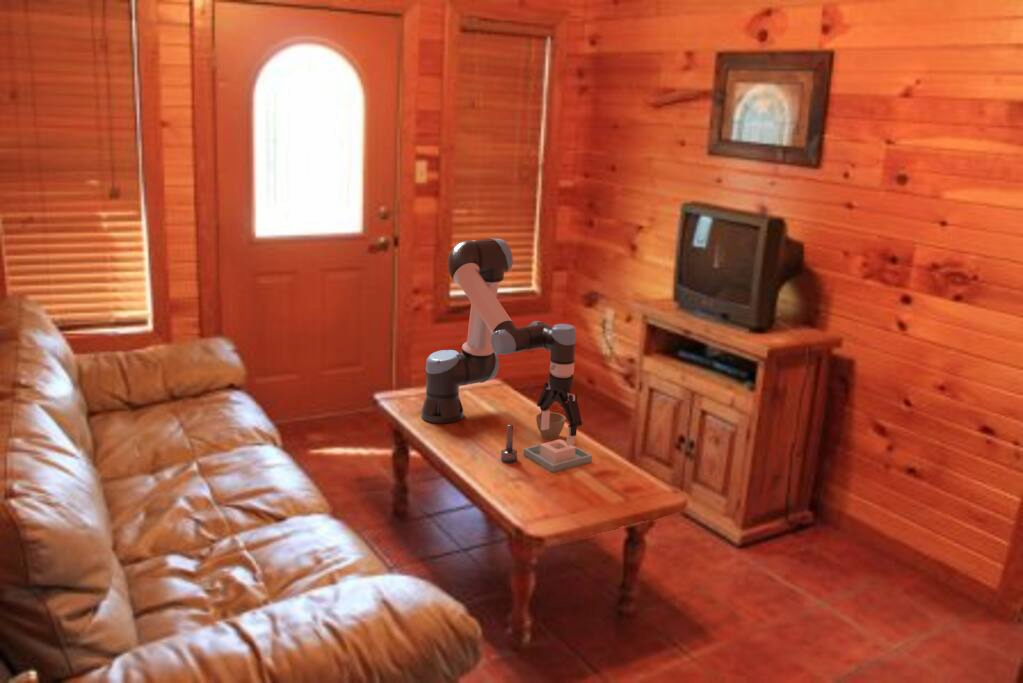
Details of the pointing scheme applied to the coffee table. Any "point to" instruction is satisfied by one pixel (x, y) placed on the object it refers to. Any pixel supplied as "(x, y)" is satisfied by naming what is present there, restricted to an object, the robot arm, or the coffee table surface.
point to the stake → (509, 447)
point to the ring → (557, 451)
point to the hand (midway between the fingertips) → (557, 436)
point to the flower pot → (552, 425)
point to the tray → (579, 460)
